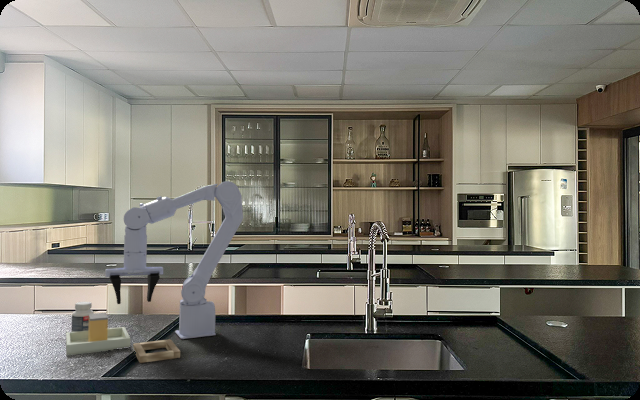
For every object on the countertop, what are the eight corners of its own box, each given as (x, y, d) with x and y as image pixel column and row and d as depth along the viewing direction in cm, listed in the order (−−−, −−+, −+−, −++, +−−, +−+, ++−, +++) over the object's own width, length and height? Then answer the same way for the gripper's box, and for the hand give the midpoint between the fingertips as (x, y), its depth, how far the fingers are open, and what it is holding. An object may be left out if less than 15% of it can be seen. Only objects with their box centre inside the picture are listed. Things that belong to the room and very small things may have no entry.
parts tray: (124, 336, 128) (124, 326, 128) (130, 348, 117) (130, 338, 117) (65, 342, 121) (66, 332, 121) (66, 355, 111) (66, 345, 111)
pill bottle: (84, 339, 124) (85, 305, 124) (66, 337, 125) (67, 304, 125) (97, 334, 129) (98, 301, 130) (80, 332, 131) (81, 300, 131)
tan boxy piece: (105, 339, 123) (105, 312, 123) (107, 345, 118) (107, 317, 118) (88, 341, 121) (88, 313, 121) (89, 347, 116) (90, 319, 116)
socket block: (170, 345, 121) (170, 339, 121) (180, 357, 111) (180, 351, 111) (133, 349, 116) (133, 343, 116) (139, 363, 107) (139, 356, 107)
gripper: (107, 254, 120) (106, 307, 120) (166, 252, 127) (164, 302, 127) (105, 251, 127) (103, 302, 126) (161, 250, 134) (159, 298, 133)
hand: (134, 302), depth 127 cm, fingers open, 7 cm apart
